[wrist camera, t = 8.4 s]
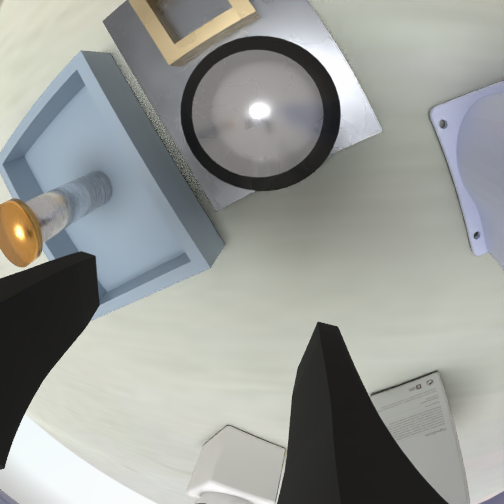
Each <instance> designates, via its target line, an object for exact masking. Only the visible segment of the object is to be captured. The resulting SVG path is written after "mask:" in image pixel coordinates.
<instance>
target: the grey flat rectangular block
mask: <svg viewBox="0 0 504 504" xmlns="http://www.w3.org/2000/svg"><path fill="white" fill-rule="evenodd" d="M103 23H104V25H105V27H106V28H107V30H108V32H109V33H110V35H111V37H112V38H113V40H114V42H115V44H116V45H117V47H118V49H119V50H120V52H121V54H122V56H123V57H124V59H125V61H126V62H127V64H128V66H129V67H130V69H131V71H132V73H133V74H134V76H135V78H136V79H137V81H138V83H139V84H140V86H141V88H142V89H143V91H144V93H145V94H146V96H147V98H148V100H149V101H150V103H151V105H152V106H153V108H154V110H155V111H156V113H157V115H158V116H159V118H160V120H161V121H162V123H163V125H164V126H165V128H166V130H167V131H168V133H169V135H170V136H171V138H172V140H173V141H174V143H175V145H176V146H177V148H178V150H179V151H180V153H181V155H182V156H183V158H184V160H185V161H186V163H187V165H188V166H189V168H190V170H191V171H192V173H193V175H194V176H195V178H196V180H197V181H198V183H199V185H200V186H201V188H202V190H203V191H204V193H205V195H206V196H207V198H208V199H209V201H210V203H211V204H212V206H213V208H214V209H215V211H218V210H220V209H222V208H224V207H226V206H228V205H230V204H232V203H234V202H236V201H238V200H240V199H241V198H243V197H245V196H247V195H249V194H251V193H253V192H255V191H270V190H277V189H281V188H285V187H288V186H291V185H293V184H296V183H298V182H300V181H301V180H303V179H305V178H307V177H308V176H309V175H311V174H312V173H313V172H314V171H315V170H316V169H318V168H319V167H320V166H321V165H322V163H323V162H324V161H325V160H326V158H327V157H328V156H330V155H332V154H334V153H336V152H338V151H340V150H342V149H345V148H347V147H349V146H351V145H353V144H356V143H358V142H360V141H362V140H365V139H367V138H369V137H371V136H374V135H376V134H378V133H380V132H383V130H382V128H381V126H380V124H379V122H378V120H377V118H376V115H375V113H374V111H373V109H372V107H371V105H370V103H369V102H368V100H367V98H366V96H365V94H364V92H363V90H362V88H361V86H360V84H359V83H358V81H357V79H356V77H355V75H354V74H353V72H352V70H351V68H350V67H349V65H348V63H347V61H346V60H345V58H344V56H343V55H342V53H341V51H340V50H339V48H338V46H337V45H336V43H335V41H334V40H333V38H332V37H331V35H330V34H329V32H328V30H327V29H326V27H325V26H324V24H323V23H322V21H321V20H320V18H319V17H318V15H317V14H316V12H315V11H314V10H313V8H312V7H311V5H310V4H309V2H308V1H307V0H127V1H125V2H124V3H123V4H122V5H121V6H119V7H118V8H117V9H116V10H115V11H114V12H112V13H111V14H110V15H109V16H108V17H107V18H106V19H105V20H104V21H103Z"/></svg>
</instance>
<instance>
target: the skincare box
mask: <svg viewBox="0 0 504 504" xmlns="http://www.w3.org/2000/svg"><path fill="white" fill-rule="evenodd" d="M370 399H371V401H372V403H373V405H374V406H375V408H376V410H377V412H378V414H379V416H380V417H381V419H382V421H383V422H384V424H385V425H386V427H387V429H388V430H389V432H390V433H391V435H392V436H393V438H394V439H395V441H396V442H397V444H398V445H399V447H400V448H401V449H402V451H403V452H404V453H405V455H406V456H407V457H408V459H409V460H410V461H411V462H412V464H413V465H414V466H415V468H416V469H417V470H418V471H419V473H420V474H421V475H422V476H423V477H424V478H425V479H426V481H427V482H428V483H429V484H430V485H431V486H432V487H433V488H434V489H435V490H436V491H437V492H438V493H439V494H440V496H441V497H442V498H443V499H444V500H445V501H447V502H448V503H449V504H470V498H469V491H468V484H467V478H466V473H465V468H464V463H463V458H462V453H461V449H460V444H459V440H458V436H457V432H456V428H455V424H454V420H453V417H452V413H451V410H450V407H449V403H448V400H447V396H446V393H445V390H444V387H443V384H442V381H441V378H440V375H439V373H438V372H435V373H433V374H430V375H427V376H424V377H422V378H419V379H417V380H414V381H411V382H409V383H406V384H403V385H400V386H398V387H395V388H392V389H389V390H386V391H384V392H381V393H378V394H375V395H373V396H371V397H370Z"/></svg>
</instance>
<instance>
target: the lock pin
mask: <svg viewBox="0 0 504 504" xmlns="http://www.w3.org/2000/svg"><path fill="white" fill-rule="evenodd" d="M112 192H113V190H112V184H111V181H110V179H109V178H108V176H107V175H106V174H104V173H103V172H101V171H93V172H90V173H88V174H86V175H83V176H81V177H79V178H76V179H74V180H72V181H70V182H67V183H65V184H63V185H61V186H58V187H56V188H54V189H52V190H50V191H48V192H46V193H44V194H41V195H39V196H37V197H35V198H33V199H31V200H29V201H27V202H23V201H22V200H20V199H16V198H14V199H10V200H8V201H6V202H4V203H2V204H0V249H1V250H2V252H3V253H4V255H5V256H6V257H7V259H8V260H9V261H10V262H12V263H13V264H14V265H16V266H18V267H26V266H27V265H29V264H30V263H31V262H33V261H34V260H36V259H37V258H38V257H39V256H40V254H41V252H42V248H43V243H44V242H45V241H47V240H48V239H50V238H51V237H53V236H54V235H56V234H57V233H59V232H61V231H62V230H64V229H65V228H67V227H68V226H70V225H72V224H73V223H75V222H76V221H78V220H80V219H81V218H83V217H85V216H86V215H88V214H90V213H91V212H93V211H95V210H96V209H98V208H100V207H101V206H103V205H105V204H106V203H108V202H109V201H110V199H111V197H112Z"/></svg>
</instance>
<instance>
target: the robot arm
mask: <svg viewBox="0 0 504 504" xmlns="http://www.w3.org/2000/svg"><path fill="white" fill-rule="evenodd" d="M430 119H431V121H432V124H433V126H434V128H435V131H436V133H437V136H438V139H439V141H440V144H441V146H442V149H443V152H444V155H445V158H446V160H447V163H448V166H449V169H450V172H451V175H452V178H453V181H454V185H455V188H456V191H457V195H458V198H459V202H460V205H461V209H462V212H463V216H464V220H465V224H466V228H467V232H468V237H469V241H470V246H471V250H472V252H473V253H474V255H476V256H481V255H483V254H485V253H487V252H489V253H490V254H491V255H492V257H493V258H494V259H495V260H496V261H497V262H498V264H499V265H500V266H501V267H502V268H503V270H504V80H503V81H501V82H498V83H495V84H492V85H490V86H487V87H484V88H481V89H479V90H476V91H473V92H471V93H468V94H465V95H463V96H460V97H458V98H455V99H453V100H450V101H447V102H445V103H442V104H440V105H437V106H435V107H433V108H432V109H431V110H430ZM441 120H444V122H445V126H444V128H440V126H439V122H440V121H441ZM475 232H478V234H477V236H476V237H474V233H475ZM99 306H100V301H99V291H98V280H97V267H96V256H95V255H92V254H89V253H86V252H83V251H80V252H76V253H72V254H69V255H66V256H63V257H60V258H57V259H54V260H52V261H49V262H46V263H43V264H41V265H38V266H35V267H32V268H30V269H27V270H24V271H21V272H18V273H15V274H12V275H9V276H6V277H4V278H1V279H0V469H4V468H5V464H6V460H7V457H8V454H9V451H10V448H11V445H12V442H13V439H14V437H15V434H16V432H17V430H18V427H19V425H20V423H21V420H22V418H23V416H24V414H25V412H26V410H27V408H28V406H29V404H30V403H31V401H32V399H33V397H34V395H35V394H36V392H37V390H38V389H39V387H40V385H41V383H42V382H43V380H44V379H45V377H46V376H47V375H48V373H49V372H50V371H51V369H52V368H53V367H54V366H55V364H56V363H57V362H58V361H59V359H60V358H61V357H62V356H63V355H64V353H65V352H66V351H67V350H68V349H69V347H70V346H71V345H72V344H73V342H74V341H75V340H76V339H77V338H78V336H79V335H80V334H81V333H82V332H83V330H84V329H85V328H86V326H87V325H88V323H89V322H90V320H91V319H92V317H93V316H94V314H95V312H96V311H97V309H98V307H99ZM0 504H18V503H17V502H16V501H15V500H13V499H12V498H10V497H9V496H8V495H7V494H6V493H4V492H3V491H2V490H1V489H0ZM277 504H449V503H448V502H447V501H445V500H444V499H443V498H442V497H441V496H440V494H439V493H438V492H437V491H436V490H435V489H434V488H433V487H432V486H431V485H430V484H429V483H428V482H427V481H426V479H425V478H424V477H423V476H422V475H421V474H420V473H419V471H418V470H417V469H416V468H415V466H414V465H413V464H412V462H411V461H410V460H409V459H408V457H407V456H406V455H405V453H404V452H403V451H402V449H401V448H400V447H399V445H398V444H397V442H396V441H395V439H394V438H393V436H392V435H391V433H390V432H389V430H388V429H387V427H386V425H385V424H384V422H383V421H382V419H381V417H380V416H379V414H378V412H377V410H376V408H375V406H374V405H373V403H372V401H371V399H370V397H369V395H368V393H367V391H366V389H365V387H364V385H363V383H362V381H361V379H360V376H359V374H358V372H357V370H356V368H355V366H354V363H353V361H352V359H351V356H350V354H349V352H348V349H347V347H346V345H345V342H344V340H343V337H342V335H341V333H340V330H339V328H338V327H337V326H333V325H329V324H325V323H321V322H317V325H316V327H315V330H314V332H313V334H312V337H311V339H310V341H309V344H308V346H307V348H306V351H305V353H304V355H303V357H302V360H301V362H300V364H299V366H298V370H297V375H296V380H295V385H294V390H293V395H292V404H291V416H290V428H289V439H288V450H287V460H286V466H285V473H284V477H283V481H282V486H281V490H280V494H279V498H278V502H277Z"/></svg>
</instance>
